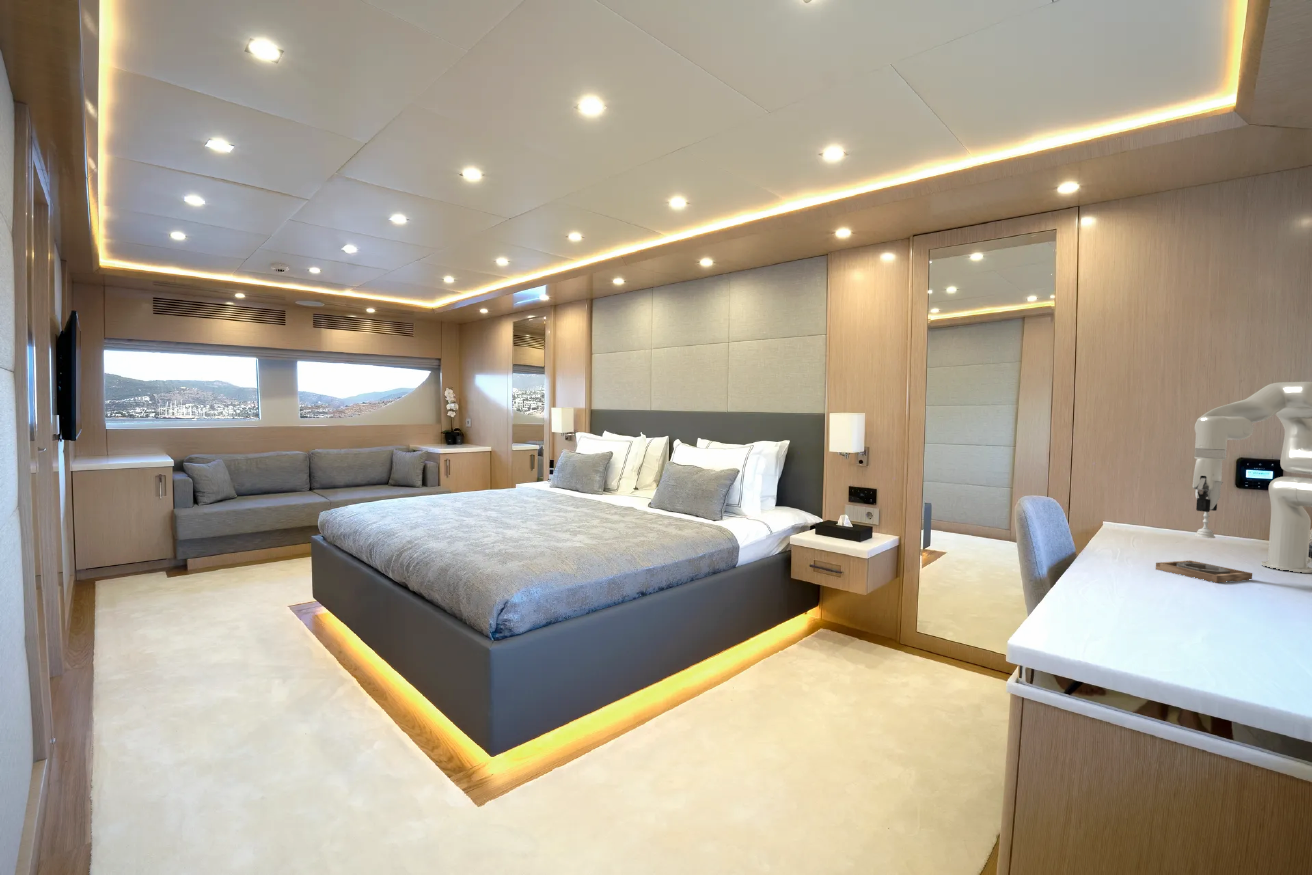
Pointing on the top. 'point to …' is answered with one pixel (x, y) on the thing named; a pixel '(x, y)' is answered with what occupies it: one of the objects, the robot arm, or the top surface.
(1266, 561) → the robot arm
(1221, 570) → the holder tray
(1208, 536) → the chalice
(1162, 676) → the top surface
